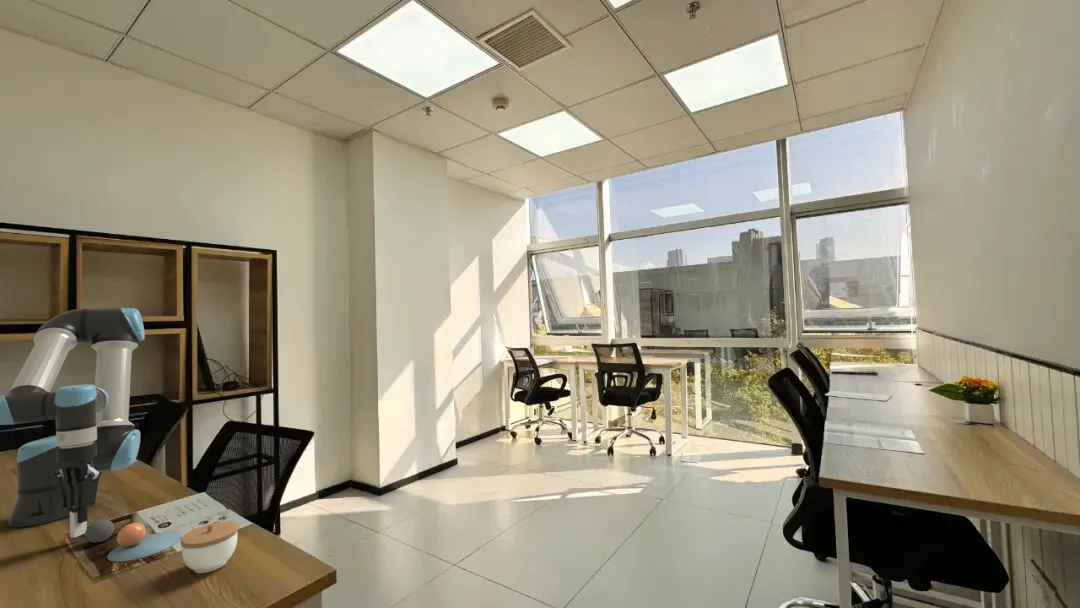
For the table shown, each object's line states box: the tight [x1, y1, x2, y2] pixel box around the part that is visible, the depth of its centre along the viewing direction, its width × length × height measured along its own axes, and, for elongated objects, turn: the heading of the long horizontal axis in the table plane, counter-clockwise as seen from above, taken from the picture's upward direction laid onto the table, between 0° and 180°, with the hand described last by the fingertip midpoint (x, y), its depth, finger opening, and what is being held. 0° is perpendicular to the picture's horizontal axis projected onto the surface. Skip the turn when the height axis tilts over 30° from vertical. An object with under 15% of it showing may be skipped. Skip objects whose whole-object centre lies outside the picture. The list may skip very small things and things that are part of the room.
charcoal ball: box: [84, 519, 115, 544], centre depth 118 cm, size 6×6×6 cm
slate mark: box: [106, 531, 182, 563], centre depth 114 cm, size 14×14×1 cm
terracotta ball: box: [116, 522, 147, 547], centre depth 115 cm, size 6×6×6 cm
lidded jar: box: [180, 521, 239, 574], centre depth 104 cm, size 11×11×9 cm
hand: (78, 534), depth 118 cm, fingers closed
